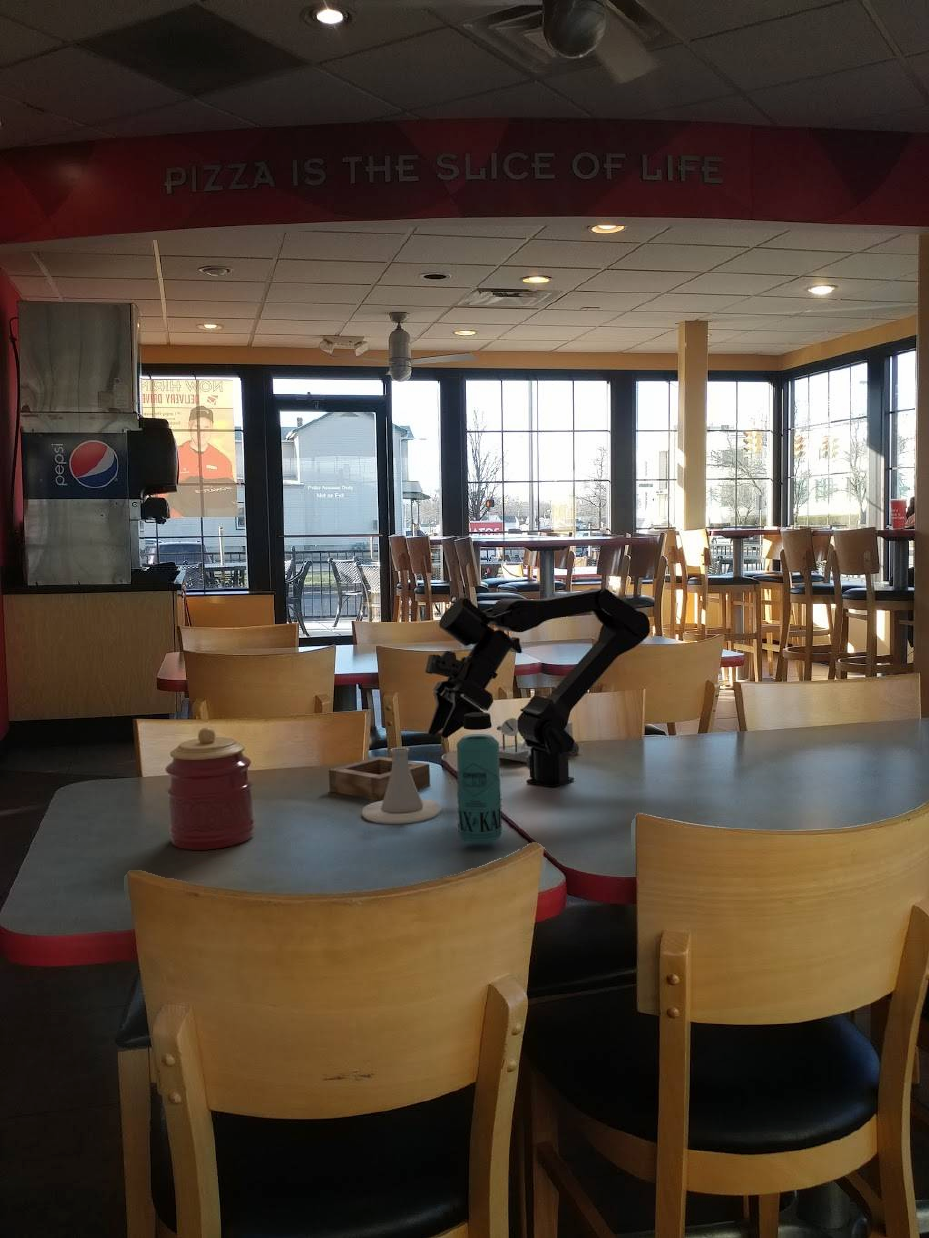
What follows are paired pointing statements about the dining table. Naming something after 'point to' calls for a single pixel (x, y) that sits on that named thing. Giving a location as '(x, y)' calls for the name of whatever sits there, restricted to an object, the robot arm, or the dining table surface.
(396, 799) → the flask
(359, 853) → the dining table surface
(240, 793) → the canister
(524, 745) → the toy car
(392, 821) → the ceramic plate
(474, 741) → the beverage bottle
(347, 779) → the walnut collar
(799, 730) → the dining table surface
